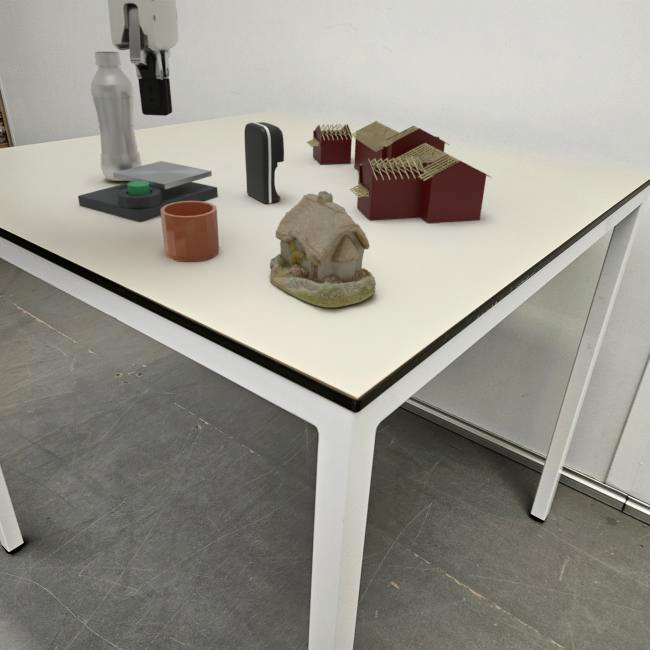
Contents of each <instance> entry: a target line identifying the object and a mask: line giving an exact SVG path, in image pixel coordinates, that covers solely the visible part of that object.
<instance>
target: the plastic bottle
mask: <svg viewBox="0 0 650 650" xmlns="http://www.w3.org/2000/svg"><path fill="white" fill-rule="evenodd" d="M94 58H95V61H94V63H95V64H94V65H95V66H97V71H96V72H95V74H94V76H93V78H92V81H91V83H90V93H91V97H92V101H93V104H94V108H95V112H96V116H97V122H98V124H99V125H98V126H99V127H98V129H99V133H100V151H101V153H100V169H101V172H102V175H103V176H104V177H105V179H107V180H109V181H113V182H114V181H115V182H127V181H126V180H121V179H117V178H114V177H113V173H114V172H118V171H122V170H126V169H130V168H134V167H139V166H143V163H142V158H141V154H140V152H139V149H138V144H137V137H136V133H135V125H134V122H135V121H134V99H135V98H134V85H133V83H132V81H131V80H130V78H129V77H128V76H127V74H126V73H125V72H124V71H123V70H122V68H121V66H123V63H122V59H121V53H120V52H119V51H94Z"/></svg>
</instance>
